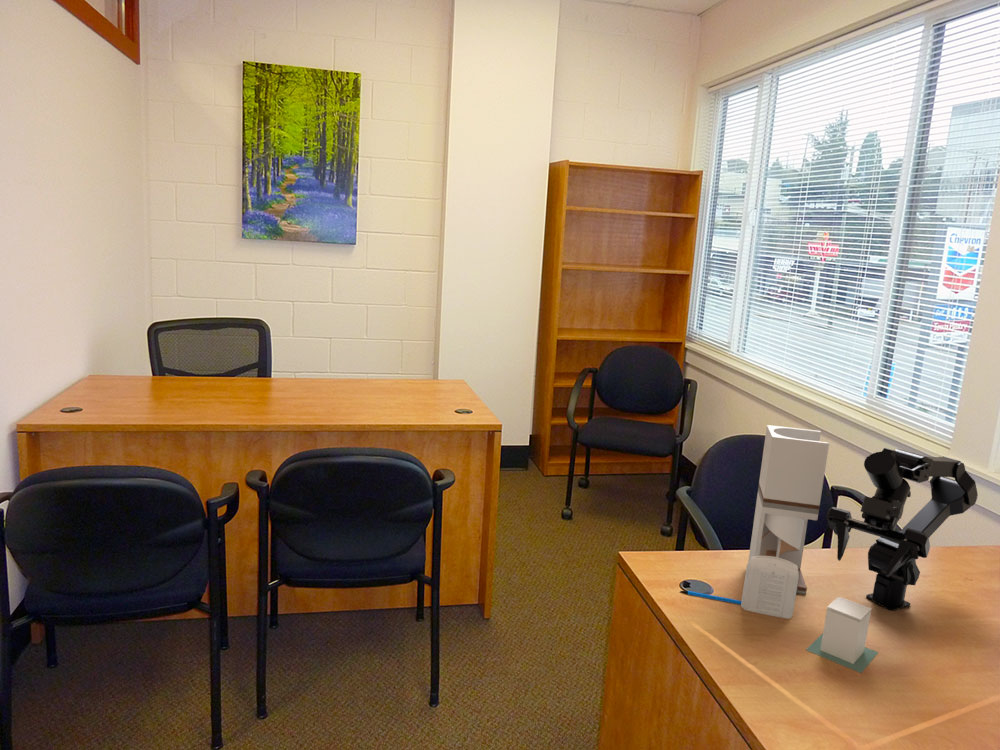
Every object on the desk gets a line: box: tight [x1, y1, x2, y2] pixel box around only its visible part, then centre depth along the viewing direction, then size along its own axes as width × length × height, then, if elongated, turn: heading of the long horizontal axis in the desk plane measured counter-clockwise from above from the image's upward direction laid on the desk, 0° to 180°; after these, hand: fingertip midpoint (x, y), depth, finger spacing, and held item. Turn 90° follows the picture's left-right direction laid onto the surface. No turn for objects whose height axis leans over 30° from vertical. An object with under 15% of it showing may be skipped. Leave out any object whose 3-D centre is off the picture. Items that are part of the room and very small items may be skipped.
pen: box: [679, 590, 742, 605], centre depth 160 cm, size 1×19×1 cm, turn 73°
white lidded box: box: [820, 596, 872, 664], centre depth 141 cm, size 6×6×9 cm
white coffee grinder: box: [747, 424, 830, 595], centre depth 167 cm, size 11×11×35 cm
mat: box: [805, 632, 879, 674], centre depth 142 cm, size 10×10×1 cm
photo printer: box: [740, 556, 799, 619], centre depth 155 cm, size 10×4×12 cm, turn 72°
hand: (862, 567), depth 148 cm, fingers open, 9 cm apart
